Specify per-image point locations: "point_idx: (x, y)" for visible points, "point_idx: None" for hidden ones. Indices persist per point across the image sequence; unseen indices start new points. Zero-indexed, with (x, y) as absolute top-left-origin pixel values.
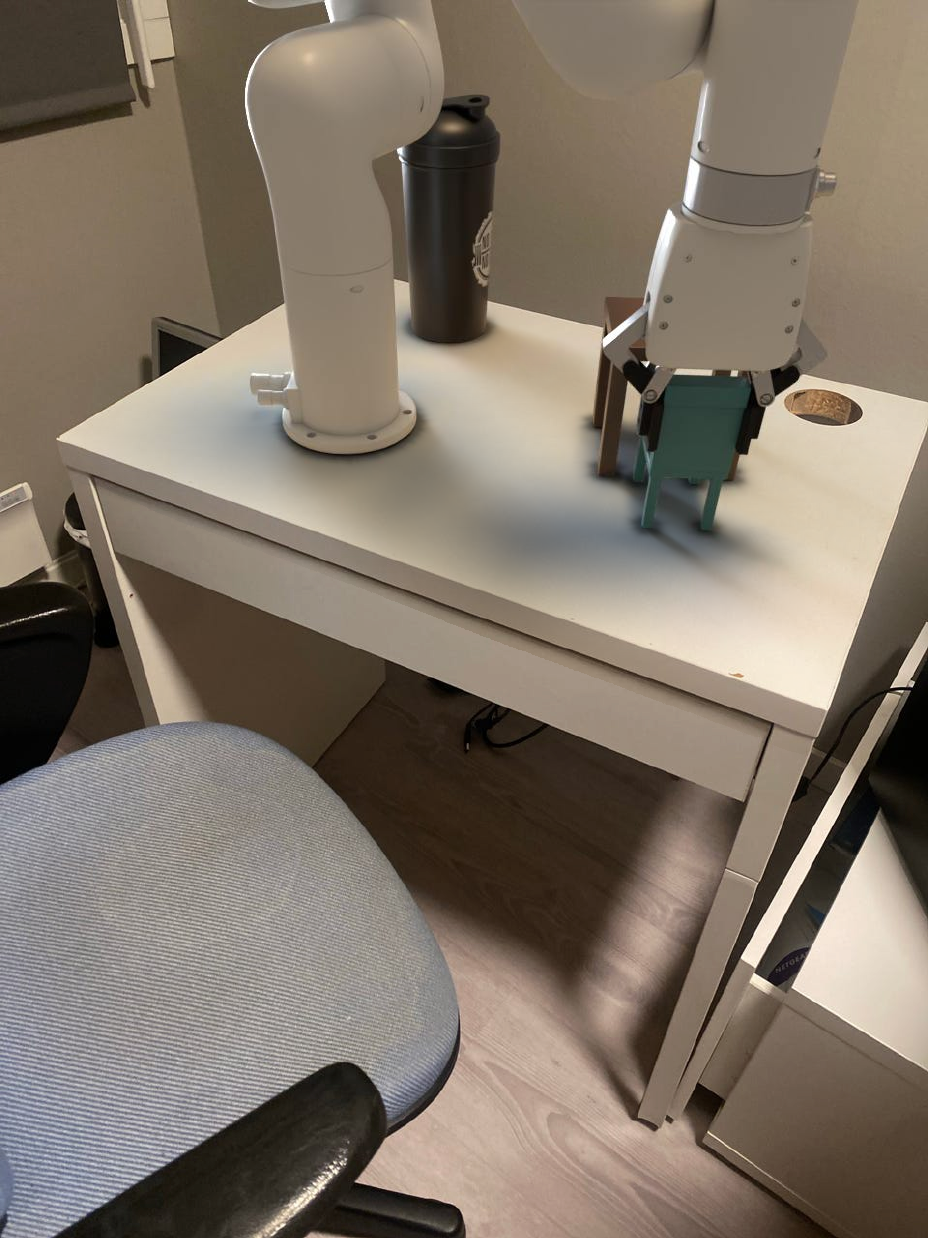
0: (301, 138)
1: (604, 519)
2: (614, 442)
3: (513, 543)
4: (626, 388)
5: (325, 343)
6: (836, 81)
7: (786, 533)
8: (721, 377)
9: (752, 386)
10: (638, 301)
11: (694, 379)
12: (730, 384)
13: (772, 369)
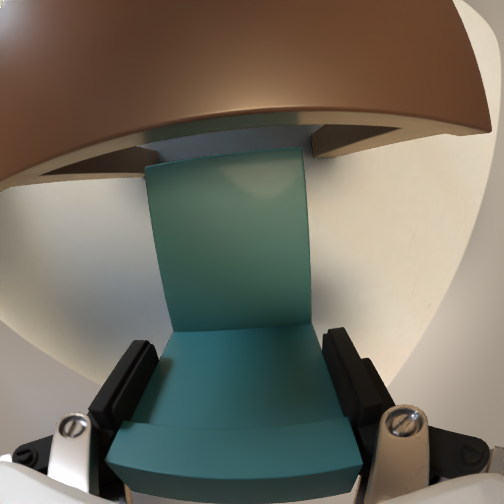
0: None
1: (156, 279)
2: (130, 174)
3: (85, 328)
4: (76, 174)
5: None
6: None
7: (381, 275)
8: (277, 483)
9: (369, 457)
10: None
11: (192, 489)
12: (298, 496)
13: (432, 471)
